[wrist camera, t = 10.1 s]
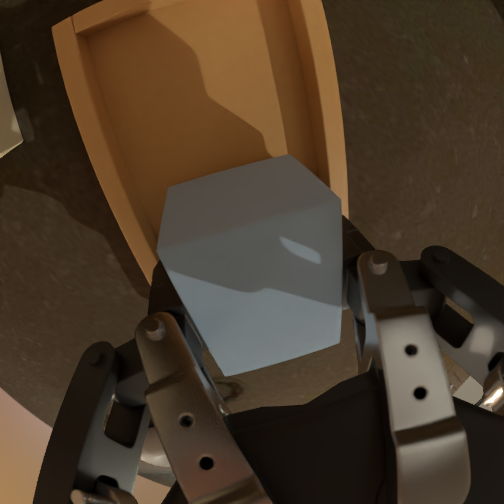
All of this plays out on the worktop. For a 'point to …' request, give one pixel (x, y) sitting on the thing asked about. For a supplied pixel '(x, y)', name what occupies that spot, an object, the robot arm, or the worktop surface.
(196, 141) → the frame
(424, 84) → the worktop surface
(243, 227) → the pad
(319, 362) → the worktop surface
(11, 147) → the pad
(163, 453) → the donut
